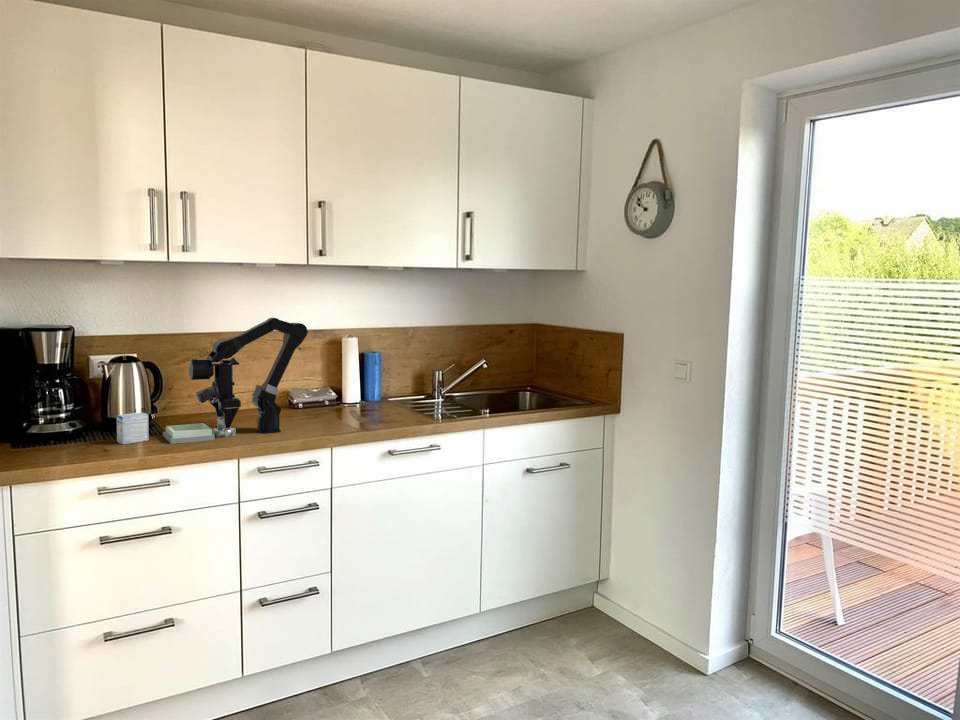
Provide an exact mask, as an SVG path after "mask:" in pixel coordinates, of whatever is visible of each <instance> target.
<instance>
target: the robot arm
mask: <svg viewBox="0 0 960 720" xmlns="http://www.w3.org/2000/svg"><path fill="white" fill-rule="evenodd" d="M273 331H276V332H279V333H283V335H282V336H283V339H282V346H281V348H280V349H279V351H278V353H277V356H276V358H275V360H274V362H273V364H272V366H271V369H270V371H269V373H268V375H267V377H266V379H265V381H264V382H263V383H262V384H261V385H259V384H256V386H255V388H254V391H253V393H252V394H251V396H252V398H251V402H252V404H253V406H254V407H255V408H257V411H258V417H257V418H256V426H257V427H256V429H257V431H258V432H260V433H262V434H267V433H278V432H282V429H280V425H281V424H280V414H281V412H282V407H280V406H279V404H277V403H276V399H277V395H278V387H279V384H280V382H281V380H282V378H283V377H284V374H285V372H286V370H287V368H288V365H289V363H290V361H291V360H292V357H293V355H294V353H295V351H296V350H297V349H298V347H299V346H300V345H301V344H302V343H303V342H304V340H305V338H306V337H307V336H308V332H309V331H308V327H307V326H306V325H305V324H304V323H299V322H288V321H285V320H281V319H279V318H277V317H268V318H267V319H266V320H264V321H262V322H261V323H258V324H257V325H254V326H252V327H251V328H249V329H246V330H244V331H243V332H241V333H239V334H237V335H234V336H233V335H232V336H229V337H226V338H222V339H219V340H217V341H215V342H214V343H213V345H212V350H211V352H210V353H209V354H208V355H207V357H206V358H204V359H203V358H199V359H198V358H190V364H189V368H188V375H189V380H191V381H199V380H201V381H202V380H204V381H205V380H210V379H211V378H212V377H214V378H213V379H214V380H213V381H212V382H211V385H210V386H209V387H205V388H203V389H201V390H198V391H196V392H195V396H196V397H197V401H198V402H199V403H200V404H204V403H206V402H207V401H208V404H210V405H211V406H212V407H213V408H214V410H215V414H216V417H220V416H224V421H225V426H226V428H230V427H231V426H232V423H233V421H234V419H235V417H236V415H237V413H238V411H239V410H240V408H241V407H242V403H241V402H242V401H241V400H240V399H239V398H238V397H236V396H235V393H234V386H235V384H236V383H235V382H234V377H233V376H234V374H233V373H234V368H233V366H239V365H240V363H239V362H238V361H237V359H235V357H233V356H234V355H236V354H238V352H239V351H241V349H242V348H243V347H245V346H247V345H248V344H250V343H252V342H254V341H257V340H258V339H260V338H262V337H265V336H266V335H268V334H270V333H271V332H273Z"/></svg>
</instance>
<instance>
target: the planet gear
mask: <svg viewBox="0 0 960 720" xmlns="http://www.w3.org/2000/svg"><path fill="white" fill-rule="evenodd" d="M216 417H217V416H216ZM216 421H217V424H216V425H217V428H216V427H215V428H212V434H214V435H215V437H216V438H229V437H235V436H236V433H237V432H236V430H237V429H236V427H231V426H230V428H226V426H225V421H224V416H220V417H217V420H216Z"/></svg>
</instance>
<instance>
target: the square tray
mask: <svg viewBox="0 0 960 720" xmlns="http://www.w3.org/2000/svg"><path fill="white" fill-rule="evenodd" d="M212 430H213V428H211V427H209V426H208V425H207V424H205V423H204V422H200V423H187V424H175V425H174V424H173V425H165V431H163V432H162V433H163V434H162V437H163V439H165V440H166V441H167V442H169V444H170V445H173V444H184V443H185V444H186V443H194V442H196V443H197V442H207V441H215V440H216V439H215V437H216V436H215V435H214V434H212Z"/></svg>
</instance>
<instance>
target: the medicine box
mask: <svg viewBox="0 0 960 720" xmlns="http://www.w3.org/2000/svg"><path fill="white" fill-rule="evenodd" d="M116 437H117V438H116V441H117V443H118V444H121V445H128V444H134V443H142V442H149V414H148V413H145V412H133V413H124V414H117V415H116Z"/></svg>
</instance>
